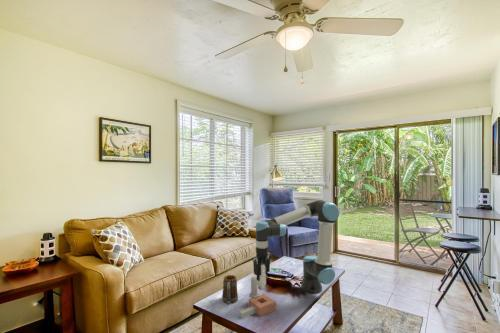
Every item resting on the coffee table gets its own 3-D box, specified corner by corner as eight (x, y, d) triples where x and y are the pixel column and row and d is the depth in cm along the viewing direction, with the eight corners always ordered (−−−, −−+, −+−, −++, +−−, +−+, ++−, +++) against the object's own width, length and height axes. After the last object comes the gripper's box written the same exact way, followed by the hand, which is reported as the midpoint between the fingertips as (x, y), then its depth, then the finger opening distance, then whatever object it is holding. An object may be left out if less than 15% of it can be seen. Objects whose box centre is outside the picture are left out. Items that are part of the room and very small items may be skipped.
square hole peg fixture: (258, 298, 173) (258, 274, 173) (275, 309, 159) (275, 283, 159) (230, 309, 160) (230, 283, 160) (246, 322, 146) (246, 294, 146)
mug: (223, 295, 177) (223, 274, 177) (238, 296, 176) (238, 274, 177) (219, 308, 161) (219, 284, 161) (236, 308, 161) (236, 284, 161)
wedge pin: (262, 286, 163) (263, 262, 163) (266, 288, 160) (266, 264, 161) (257, 288, 160) (257, 264, 161) (260, 290, 158) (260, 265, 158)
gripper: (268, 243, 169) (267, 279, 168) (247, 247, 159) (247, 285, 159) (275, 246, 163) (275, 283, 162) (255, 250, 153) (254, 290, 153)
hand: (261, 284), depth 161 cm, fingers closed on wedge pin, 3 cm apart
